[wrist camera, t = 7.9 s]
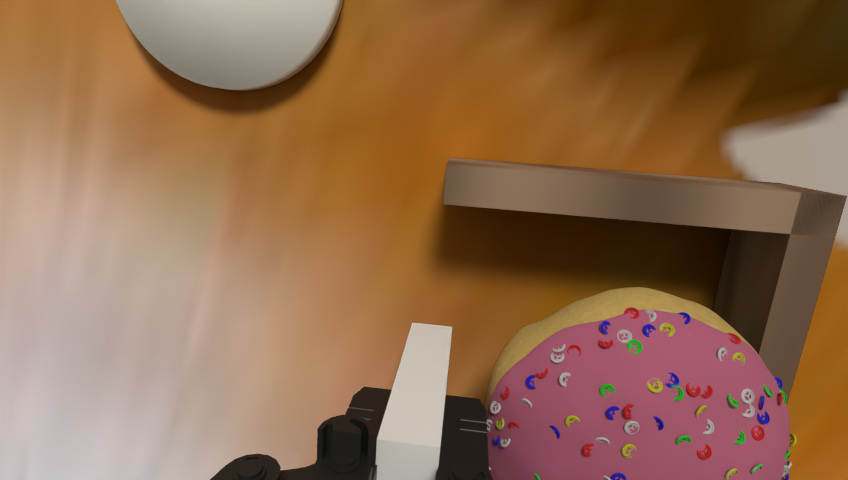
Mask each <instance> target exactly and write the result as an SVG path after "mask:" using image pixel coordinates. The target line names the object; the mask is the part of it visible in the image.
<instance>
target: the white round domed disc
mask: <svg viewBox="0 0 848 480" xmlns="http://www.w3.org/2000/svg"><path fill="white" fill-rule="evenodd" d="M116 2H117V4H118V7H119V9H120V11H121V13H122V15H123V17H124V19H125V21H126V23H127V24H128V26H129V27H130V29H131V31H132V32H133V34H134V35H135V37H136V38H137V39H138V40H139V41H140V43H141V44H142V45H143V46H144V48H145V49H146V50H147V51H148V52H149V53H150V54H151V55H152V56H153V57H154V58H155V59H156V60H158V61H159V62H160V63H162V64H163V65H164V66H165V67H167V68H168V69H170V70H171V71H173V72H175V73H176V74H178V75H180V76H181V77H183V78H186V79H188V80H190V81H193V82H195V83H198V84H201V85H205V86H208V87H214V88H221V89H228V90H235V91H239V90H256V89H263V88H266V87H269V86H273V85H276V84H278V83H280V82H283V81H285V80H287V79H289V78H290V77H292V76H294V75H295V74H297V73H298V72H300V71H301V70H302V69H303V68H304V67H306V66H307V65H308V64H309V63H310V62H311V61H312V60H313V59H314V58H315V57H316V56H317V54H318V53H319V52H320V51H321V50H322V48H323V47H324V45H325V44H326V42H327V40H328V39H329V37H330V35H331V33H332V31H333V29H334V27H335V25H336V23H337V20H338V17H339V14H340V11H341V8H342V4H343V0H116Z"/></svg>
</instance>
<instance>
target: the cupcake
mask: <svg viewBox="0 0 848 480" xmlns="http://www.w3.org/2000/svg"><path fill="white" fill-rule="evenodd" d="M776 380H777V381H776ZM778 382H779V385H778ZM782 386H783V383H782V381H781V379H780V378H778V377H774V376H773V375H772V374H771V373H770V371H769V370H768V368H767V367H766V366H765V364H764V362H763V361H762V359H761V358H760V356H759V355H758V353H757V352H756V351H755V350H754V348H753V347H752V346H751V345H750V344H749V343H748V342H747V341H746V340H745V339H744V338H743V337H742V336H741V335H740V334H739V333H738V332H737V331H736V330H735V329H733V328H732V327H731V326H730V325H729V324H728V323H727V322H725V321H724V320H723V319H722V318H721V317H720V316H718V315H717V314H716V313H715V312H713V311H712V310H710V309H708V308H707V307H705V306H703V305H700V304H698V303H696V302H693V301H689V300H685V299H682V298H679V297H677V296H674V295H671V294H668V293H665V292H662V291H658V290H654V289H650V288H645V287H629V288H619V289H612V290H608V291H604V292H602V293H599V294H596V295H593V296H590V297H587V298H584V299H581V300H578V301H576V302H573V303H571V304H569V305H567V306H565V307H564V308H562V309H560V310H559V311H557V312H556V313H554V314H553V315H551V316H549V317H548V318H546V319H544V320H541V321H539V322H536V323H532V324H529V325H527V326H524V327H523V328H521V329H520V330H519V331H518V332H517V333H516V334H515V335H514V336H513V338H512V339H511V340H510V341H509V342H508V343H507V345H506V346H505V347H504V349H503V350H502V352H501V353H500V355H499V357H498V359H497V361H496V363H495V366H494V368H493V371H492V374H491V377H490V380H489V384H488V389H487V394H486V400H485V406H484V407H485V409H486V415H487V437H488V458H489V471H490V473H491V476H492V478H493V480H788V479H789V475H788V473H789V470H790V469H789V468H790V467H791V465H792V463H791V462H790V461H788V457H789V455H790V453H791V451H789V447H793V446H794V445H795V444H796V441H797V439H796V436H795V435H794V434H792V433H790V420H789V412H788V408H787V405H786V400H787V398H786V394H785V393H784V392H783V391H782V390H781V388H782ZM790 437H792V438H791V439H790ZM792 439H793V442H792V443H791V440H792ZM787 465H788V466H787ZM784 476H785V478H784Z"/></svg>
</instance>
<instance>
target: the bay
mask: <svg viewBox="0 0 848 480" xmlns="http://www.w3.org/2000/svg"><path fill="white" fill-rule="evenodd" d="M846 198H847V196H843V195H838V194H833V193H828V192H823V191H818V190H812V189H807V188H802V187H797V186H791V185H786V184H781V183H771V182H758V181H745V180H732V179H719V178H706V177H693V176H681V175H668V174H655V173H642V172H629V171H616V170H604V169H591V168H578V167H565V166H552V165H539V164H526V163H514V162H501V161H488V160H475V159H462V158H450V160H449V161H448V163H447V164H446V174H445V187H444V199H443V204H446V205H458V206H470V207H481V208H493V209H505V210H516V211H528V212H540V213H551V214H563V215H574V216H586V217H598V218H609V219H621V220H633V221H644V222H656V223H667V224H679V225H691V226H702V227H714V228H726V229H732V230H731V234H730V238H729V243H728V247H727V251H726V255H725V260H724V264H723V268H722V273H721V277H720V281H719V286H718V290H717V294H716V298H715V303H714V307H713V312H715V313H716V314H717V315H718V316H720V317H721V318H722V319H723V320H724V321H725V322H727V323H728V324H729V325H730V326H731V327H732V328H733V329H735V330H736V331H737V332H738V333H739V334H740V335H741V336H742V337H743V338H744V339H745V340H746V341H747V342H748V343H749V344H750V345H751V346H752V347H753V348H754V350H755V351H756V352H757V353H758V355H759V356H760V358H761V359H762V361H763V362H764V364H765V366H766V367H767V368H768V370H769V371H770V373H771V374H772V375H773V376H774V377H778V378H780V379H781V381H782V383H783V386H782V388H781V390H782V391H783V392H784V393H785V394H786V398H787V400H786V405H787V403H788V399H789V396H790V392H791V389H792V385H793V382H794V378H795V375H796V371H797V368H798V364H799V361H800V357H801V354H802V350H803V347H804V344H805V340H806V337H807V333H808V330H809V326H810V323H811V319H812V316H813V312H814V309H815V305H816V302H817V298H818V295H819V291H820V288H821V285H822V281H823V278H824V274H825V271H826V267H827V264H828V260H829V257H830V253H831V250H832V246H833V243H834V239H835V236H836V232H837V229H838V226H839V222H840V219H841V215H842V212H843V208H844V205H845V201H846ZM776 381H777V380H776ZM778 385H779V382H778Z"/></svg>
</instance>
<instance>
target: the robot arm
mask: <svg viewBox="0 0 848 480" xmlns="http://www.w3.org/2000/svg"><path fill="white" fill-rule="evenodd" d="M451 336H452V327H449V326H439V325H430V324H421V323H412V325H411V329H410V332H409V335H408V339H407V342H406V345H405V348H404V352H403V355H402V358H401V362H400V365H399V368H398V371H397V375H396V378H395V381H394V384H393V388H392V390H388V389H380V388H371V387H364V388H362V389H361V390H360V391H359V392H357V393H356V394H355V395H354V396H353V398H352V400H351V403H350V405H349V408H348V409H347V412H346V414H345V415H340V416H336V417H332V418H330V419H328V420H326V421H324V422H323V423H322V424H321V425H320V426H319V428H318V438H317V460H316V463H315V464H313V465H310V466H307V467H303V468H298V469H291V470H282V471H280V465H279V464H278V462H277V460H276V459H274V458H272V457H270V456H268V455H262V454H252V455H245V456H243V457H240V458H237V459H235V460H233V461H232V462H230V463H229V464H227V465H226V466H225V467H224V468H223V469H221V470H220V471H219V472H218V473H217V474H216V475H215V476H214V477H213V478H211V479H210V480H493V478H492V476H491V473H490V471H489V458H488V437H487V415H486V409H485V407H484V406H483V404H482V403H481V401H480V400H479V399H475V398H467V397H458V396H450V395H446V392H447V381H448V369H449V358H450V347H451Z"/></svg>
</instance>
